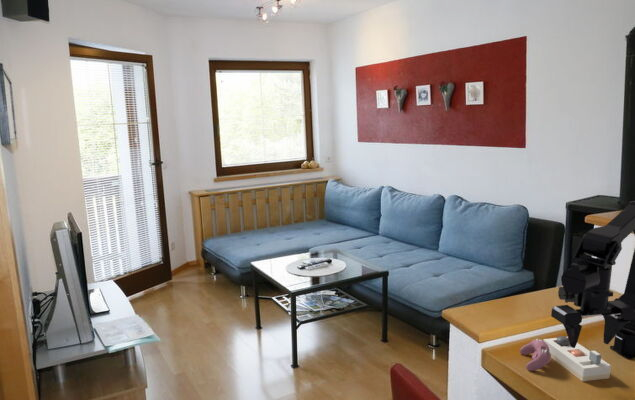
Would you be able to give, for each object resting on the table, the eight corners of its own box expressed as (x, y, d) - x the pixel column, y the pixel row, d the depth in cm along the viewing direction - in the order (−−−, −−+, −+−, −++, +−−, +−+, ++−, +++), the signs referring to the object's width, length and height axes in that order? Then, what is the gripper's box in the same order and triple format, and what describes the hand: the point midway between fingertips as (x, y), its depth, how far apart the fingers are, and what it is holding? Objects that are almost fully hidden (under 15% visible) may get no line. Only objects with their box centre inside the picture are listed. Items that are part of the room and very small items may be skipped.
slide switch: (592, 366, 126) (594, 350, 125) (599, 371, 123) (601, 354, 123) (588, 367, 126) (589, 350, 125) (595, 372, 123) (597, 355, 122)
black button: (563, 342, 136) (564, 335, 136) (571, 347, 133) (572, 340, 133) (554, 343, 136) (554, 336, 135) (561, 348, 133) (562, 341, 132)
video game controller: (541, 378, 126) (557, 356, 124) (525, 369, 127) (540, 347, 125) (533, 359, 136) (547, 338, 134) (517, 350, 136) (531, 330, 134)
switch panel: (566, 348, 138) (568, 336, 138) (609, 378, 123) (610, 365, 123) (542, 350, 137) (543, 339, 136) (582, 381, 122) (583, 368, 121)
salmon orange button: (577, 356, 131) (578, 349, 131) (586, 362, 128) (586, 354, 128) (567, 357, 130) (568, 350, 130) (575, 363, 127) (576, 355, 127)
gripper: (605, 270, 129) (598, 327, 132) (539, 276, 126) (534, 334, 129) (640, 286, 119) (632, 347, 122) (569, 292, 115) (563, 355, 118)
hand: (589, 345), depth 123 cm, fingers open, 9 cm apart
